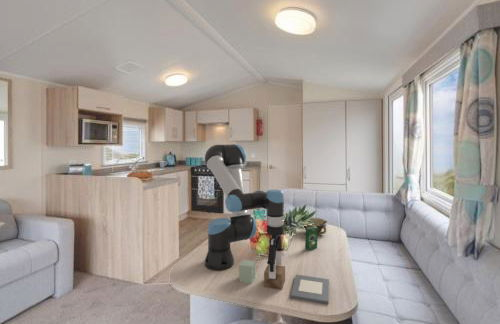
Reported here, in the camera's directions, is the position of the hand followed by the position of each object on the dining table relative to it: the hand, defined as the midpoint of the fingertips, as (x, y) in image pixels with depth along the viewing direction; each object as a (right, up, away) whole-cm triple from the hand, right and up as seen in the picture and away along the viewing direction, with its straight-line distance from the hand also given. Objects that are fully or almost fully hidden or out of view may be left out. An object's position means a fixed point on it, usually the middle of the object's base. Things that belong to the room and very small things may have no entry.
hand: (275, 271), depth 120 cm
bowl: (+34, -2, +68) cm, 76 cm away
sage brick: (-13, -6, +5) cm, 15 cm away
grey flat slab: (+15, -6, -4) cm, 17 cm away
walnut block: (0, -6, +1) cm, 6 cm away
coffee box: (+26, -3, +41) cm, 48 cm away
